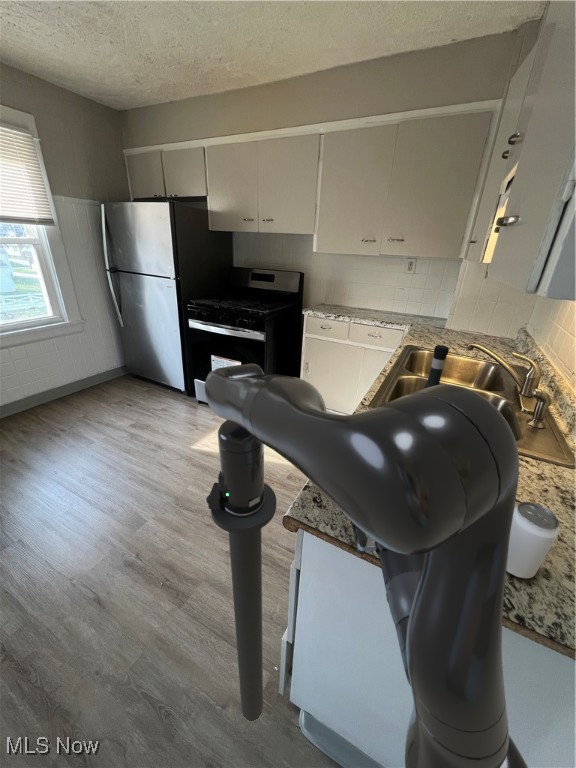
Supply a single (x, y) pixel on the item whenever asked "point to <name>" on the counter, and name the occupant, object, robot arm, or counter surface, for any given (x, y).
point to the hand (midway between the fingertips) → (388, 500)
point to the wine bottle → (437, 365)
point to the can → (530, 538)
